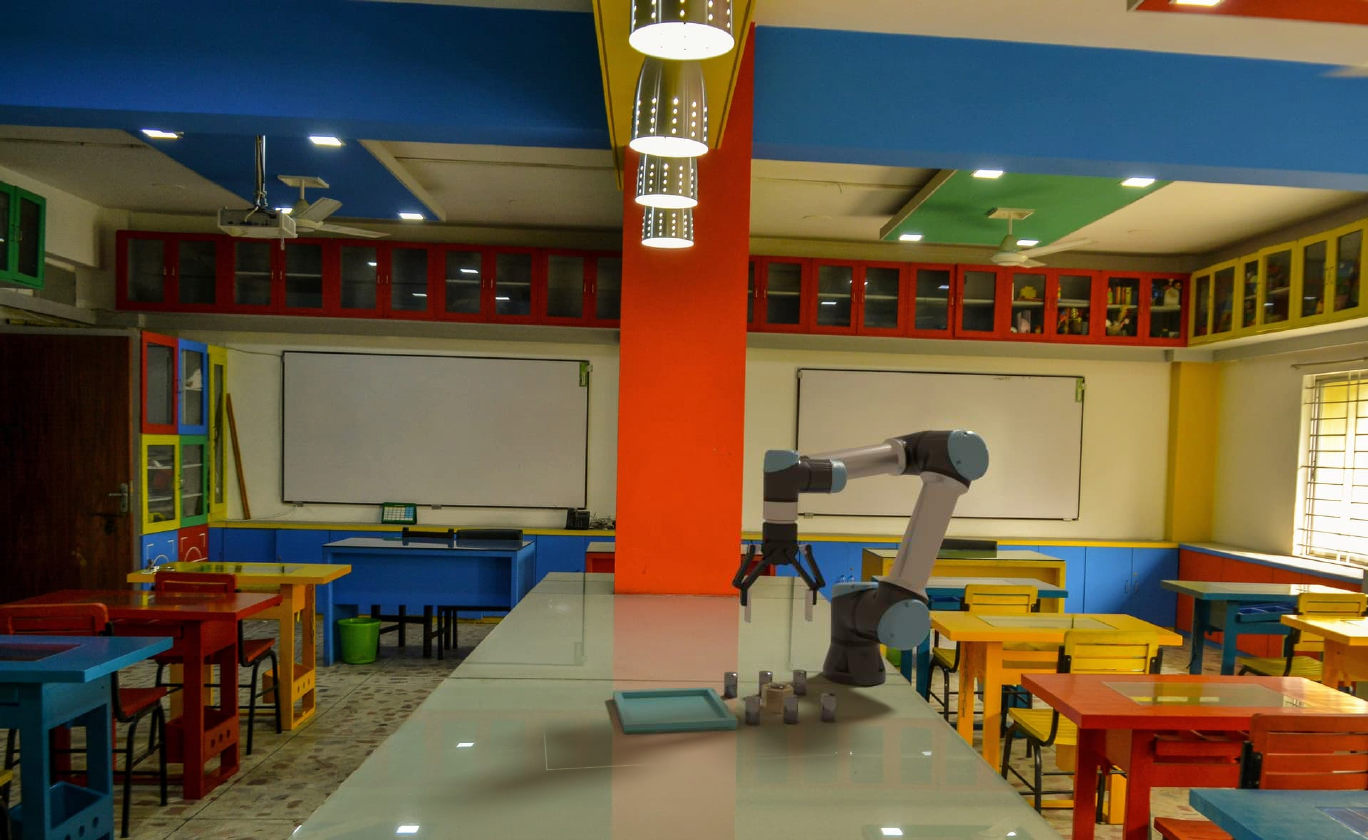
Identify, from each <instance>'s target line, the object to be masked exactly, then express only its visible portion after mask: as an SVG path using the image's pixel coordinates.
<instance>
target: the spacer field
mask: <svg viewBox="0 0 1368 840" xmlns="http://www.w3.org/2000/svg"><path fill="white" fill-rule="evenodd" d="M723 675H724V677H723V678H724V679H723V697H724V698H727V699H736V698H738V686H739V685H738V683H739V682H738V681H739V680H738V679H739V673H738V672H735V671H725V672H724V673H723ZM807 676H808V675H807V670H805V669H794V670H792V688H793V689H794V695H792V694H787V695H784V697H783V713H782V722H783V723H784V724H788V725H795V724H798V723H799V696H801V697H804V696H806V695H807ZM772 682H773V672H772V671H770V670H760V671H758V696H756V695H747V696H745V697H744V698H745V700H744V724H745V725H747V726H751V727H752V726H754V727H755V726H760V724H761V697H762V685H764V684H768V683H772ZM836 702H837V695H836V694H834V693H830V692H824V693H821V694H820V721H822V722H824V723H835V722H836V712H837V711H836V710H837V709H836V706H837V705H836V704H837V703H836Z"/></svg>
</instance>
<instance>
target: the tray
mask: <svg viewBox="0 0 1368 840" xmlns="http://www.w3.org/2000/svg"><path fill="white" fill-rule="evenodd" d="M612 701H613V703H614V706H615V709H616V712H617V715H618V718H619V721H620V723H621V724H620V725H621V726H622V729H623V732H624V735H635V734H636V735H639V734H641V735H642V734H659V733H662V734H663V733H682V732H686V733H687V732H701V731H702V732H703V731H704V732H706V731H728V730H729V731H730V730H738V720H739V719H737V717H736V716H735V714H734V713H733V711H731V709H730V708H729V707H728V706H727V704H726V703H725V701H724V700H723V698H721V696H720V695H719V693H717V691H716V690H715V688H714V687H712V686H709V687H708V686H707V687H681V688H653V689H652V688H651V689H649V688H648V689H624V690H622V689H620V690H612Z"/></svg>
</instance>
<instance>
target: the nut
mask: <svg viewBox="0 0 1368 840" xmlns="http://www.w3.org/2000/svg"><path fill="white" fill-rule="evenodd" d="M787 694H792V695H794V689H793V686H792V685H790V684H789V683H785V682H784V683H782V682H774V681H772V683H768V684H764V685H762V696H761V703H760V707H762V708H763V709H764V710H765V711H766V712H773V713H779V714H780V713H781V714H783V697H784V695H787Z"/></svg>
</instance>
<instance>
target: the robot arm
mask: <svg viewBox="0 0 1368 840" xmlns="http://www.w3.org/2000/svg"><path fill="white" fill-rule="evenodd" d="M799 453H800V452H799V451H798V450H796V449H768V450H766V451H765V452H764V457H763V469H762V472H763V476H762V477H763V480H762V481H763V483H762V484H763V486H762V487H763V490H762V491H763V492H762V497H763V499H762V501H763V502H762V519H763V520H765V521H763V523H762V529H761V530H762V531H761V532H762V533H761V539H762V541H761V544H753V543H751V542H749V543H748V544H747V546H746V554H745V555H744V557H743V560H742V562H741V564H740V565H739V567H738V569H737V571H736V574H735V575H734V578H733V580H732V581H731V586H732V587H734V588H735V589H737V590H739V592H740V593H739V604H740V606H741V607H743V608H744V611H743V614H744V615H743V621H744V622H746V624H748V623H749V624H750V623H751V622H752V591H751V590H749V589H750V588H751V586H753V585H754V583H755V582H756V581H757V580H758V579H759V577H760V576H761V574H763V572H764V571H765V570H766V569H767V568H768V567H769V566H770V565H772V566H781V565H782V566H788V565H790V566H791V567H792V568H793V569H794V570H795V571H796V573H797V574H798V575H799V577H800V578H801V579H802V580H803V582H804V583H805V585H807V587H808V588H805V591H804V598H805V599H804V620H806V621H807V622H809V623H811V622H813V606H816V605H817V602H818V599H817V598H818V591H819V590H820V589H822V588H825V587H826V581H825V579H824V577H823V574H822V572H821V571H820V568H819V566H818V564H817V561H816V560H815V557H814V555H813V546H812V545H811V544H809V543H806V542H805V543H803V544H798V534H799V532H798V530H799V528H798V526H799V524H798V523H797V522H796V521H798V519H799V494H828V495H830V494H838V493H841V492H842V491H844V489H845V487H846V485H847V484H848V483H847V482H848V481H850V480H855V479H862V478H866V477H873V476H879V475H885V474H888V475H890V476H892V477H898V476H904V475H905V476H917V477H918V476H919V477H920V479H921V481H922V486H921V489H920V492H919V494H918V496H917V500H916V502H915V505H914V508H913V510H912V513H911V515H910V518H909V521H908V523H907V526H906V529H905V531H904V534H903V537H902V539H901V543H900V545H899V548H898V550H897V552H896V555H895V558H894V561H893V563H892V566H891V569H890V572H889V574H888V576H886V577H884V578H881V579H880V580H879V582H876V581H848V582H838V583H835V584H834V585H833V586H832V588H831V594H830V600H829V601H830V644H829V648H828V649H827V650H828V651H827V653H826V655H825V656H826V657H825V659H824V661H823V664H822V676H823V677H824V678H825V679H826V680H828V681H831V682H834V683H838V684H842V685H848V686H849V685H850V686H873V685H874V686H875V685H879V684H883V683H885V682H886V680H887V670H886V666H885V663H884V659H883V656H882V653H881V650H880V645H882V646H885V647H886V648H888V649H893V650H894V649H896V650H898V651H909V650H912V649H914V648H916V647H918V646H920V645H921V644H922V643H923V642H924V641H925V640H926V638H927V636H928V635H929V633H930V629H931V627H932V618H931V617H930V616H931V611H930V610H929V608H928V607H927V605H928V602H929V597H928V595H927V592H926V587H927V585H928V582H929V579H930V576H931V575H932V572H933V568H934V567H935V566H934V565H935V562H936V560H937V557H938V554H939V553H940V549H941V546H942V543H943V541H944V539H945V535H946V532H947V530H948V527H949V525H950V522H951V519H952V517H953V513H954V511H955V508H956V505H957V503H958V499H959V497H960V496H964V495H965V494H967V493H968V492H969V490H970V486H971V485H972V481H976V480H979V479H980V478H982V477H984V476H985V474H987V470H988V468H989V463H990V455H989V450H988V449H987V445H986V442H985V441H984V439H983V438H982V437H981V436H980V435H979V434H978V433H976V432H974V431H972V430H964V429H954V430H953V429H952V430H931V429H930V430H921V431H916V432H912V433H910V434H904V435H900V436H895V437H890V438H888V437H887V438H886V439H884V440H883V442H882V443H876V444H869V445H864V446H856V447H849V448H843V449H842V448H841V449H837V450H836V449H835V450H830V451H824V452H816V453H810V454H805V455H800V454H799ZM759 552H760V553H761V554H762V555H763V556H762V557H761V558H760V559H759V560H758V563H757V564H756V565H755V566H754V567H753V569H752V570H751V571H750V573H748V571H749V568H750V567H751V564H752V563H753V561H754V559H755V556H756V555H758V553H759ZM799 552H800V553H801V554H802V555H803V556H804V559H805V561H806V563H807V565H808V568H809V569H810V572H811V574H812V576H813V579H814V580H813V579H812V577H811V576H810V575H809V574H808V573H807V571H806V570H805V569H804V567H803V566H802V565H801V563H800V561H798V558H796V556H797V554H798V553H799ZM747 573H748V574H747ZM746 574H747V576H746Z"/></svg>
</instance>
